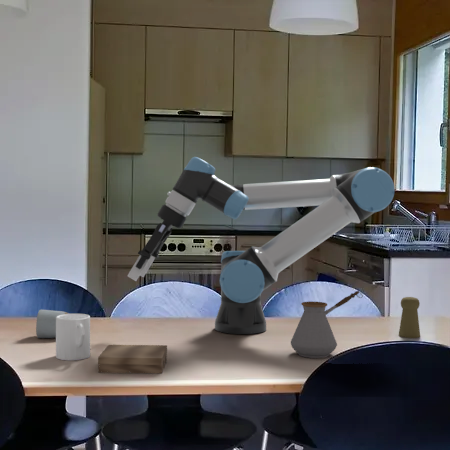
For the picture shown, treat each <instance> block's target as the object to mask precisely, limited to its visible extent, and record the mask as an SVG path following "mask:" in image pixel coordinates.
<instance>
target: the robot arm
mask: <svg viewBox="0 0 450 450" xmlns="http://www.w3.org/2000/svg"><path fill="white" fill-rule="evenodd" d="M215 172H216V168H215V167H214V166H213V165H212V164H210V163H209V162H207V161H205V159H204V160H203V159H201V158H200V157H197V156H193V157H191V158H190V159H189V161H188V163H187V164H186V166H185V168H183V170H182V172H181V174H180V175H179V178H178V179H177V180H176V182H175V184H174V185H173V187H172V190H171V191H168V192H167V194H166V195H167V197H166V199H165V201H164V202H165V204H162V205H161V207H160V209H159V211H158V213H156V214H157V217H158V218H160V219H161V220H162V222H159V223H158V224H157V226H155V229H154V231H153V232H152V234H151V236H150V238H149V239H148V241H147V242H146V244H145V245H144V247H143V248H142V249H141V250H138V252H137V255H139V256H138V257H137V259H136V261H135V263H134V264H133V266H132V267H131V268H130V270H129V272H128V274H127V277H128V278H129V279H132V281H135V282H137V281H138V280H139V278H140V277H142V278H145V276H146V274H147V272H148V271H149V269H150V267H151V266H152V264H153V262H154V261H155V259H159V258H160V255H159V254H160V251H161V250H162V247H163V246H164V243H166V242H167V239H168V238H169V237H170V235H172V230H173V227H175V228H176V229H177V230H179V229H182V227H183V226H184V224H185V222H186V221H187V217H188V216H190V214H191V213H192V211H193V210H194V208H195V206H196V204H197V202H198V201H199V200H201V201H202V202H204V203H206V204H208V205H209V206H210V207H212V208H214V209H216V210H217V211H219V212H220V213H222V214H224V216H227V217H229V218H230V219H232V220H237V219H238V218H239V217H240V216H241V214H242V212H243V211H249V210H265V209H268V210H269V209H279V208H281V209H283V208H299V207H315V206H317V207H315V208H314V209H313V210H311V211H310V212H308V213H307V214H305V215H304V216H303V217H301V218H300V219H299V220H297V221H296V222H295V223H293V224H291V225H290V226H289V227H287V228H286V229H284V230H283V231H281V232H280V233H278V234H277V235H276V236H274V237H273V238H271V239H270V240H269V241H267V242H266V243H264V244H263V245H261V246H253V245H252V246H251V247H249V248H248V249H245V250H226V251H223V252H222V254H221V260H220V263H221V265H220V267H221V269H220V270H221V272H220V274H219V286H220V306H219V308H218V311H217V314H216V318H215V321H214V330H215V331H217V332H220V333H224V334H230V335H231V334H232V335H252V334H253V335H254V334H259V333H264V332H265V331H267V320H266V316H265V314H264V310H263V307H262V304H261V303H262V302H261V297H262V296H261V294H262V293H263V291H265V290H266V289H268V288H269V287H271V286H272V285H273V284H275V283H276V282H278V277H279V274H280V273H281V272H282V271H283V270H285V269H286V268H288V267H289V266H291V265H293V264H294V263H295V262H296V261H298V260H299V259H301V258H302V257H303V256H305V255H307V254H308V253H309V252H310V251H313V250H314V248H317V246H319V245H321V244H322V243H323V242H325V241H326V240H328V239H329V238H330V237H332V236H333V235H335V234H336V233H337V232H339V231H340V230H342V229H344V227H346V226H349V224H350V223H354V224H360V223H362V222H363V221H365V220H366V219H368V218H369V217H371V215H374V214H375V213H377V212H380V211H383V210H384V209H386V208H387V207H388V206H389V205H391V203H392V201H393V199H394V196H395V184H394V181H393V179H392V177H391V176H390V174H388V172H386V170H383V169H381V168H379V167H374V166H372V167H371V166H368V167H365V168H362V169H358V170H355V171H351V172H346V173H340V174H332V175H331V176H330V177H329V178H320V179H318V178H317V179H307V180H303V179H302V180H291V181H288V180H287V181H273V182H257V183H245V184H244V183H243V184H229V183H227V182H225V181H223V180H222V179H220V178H218V177H217V176H216V175H215Z"/></svg>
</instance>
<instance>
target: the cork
mask: <svg viewBox="0 0 450 450" xmlns="http://www.w3.org/2000/svg"><path fill="white" fill-rule="evenodd" d="M400 307H401V309H402V310H401V317H400V323H399V324H400V325H399V330H398V336H399V337H401V338H406V339H407V338H408V339H416V338H417V339H418V338H420V337H421V331H420V330H421V329H420V321H419V313H418V310H419V308H420V300H419V298H417V297H413V296H405V297H403V298H401V301H400Z"/></svg>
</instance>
